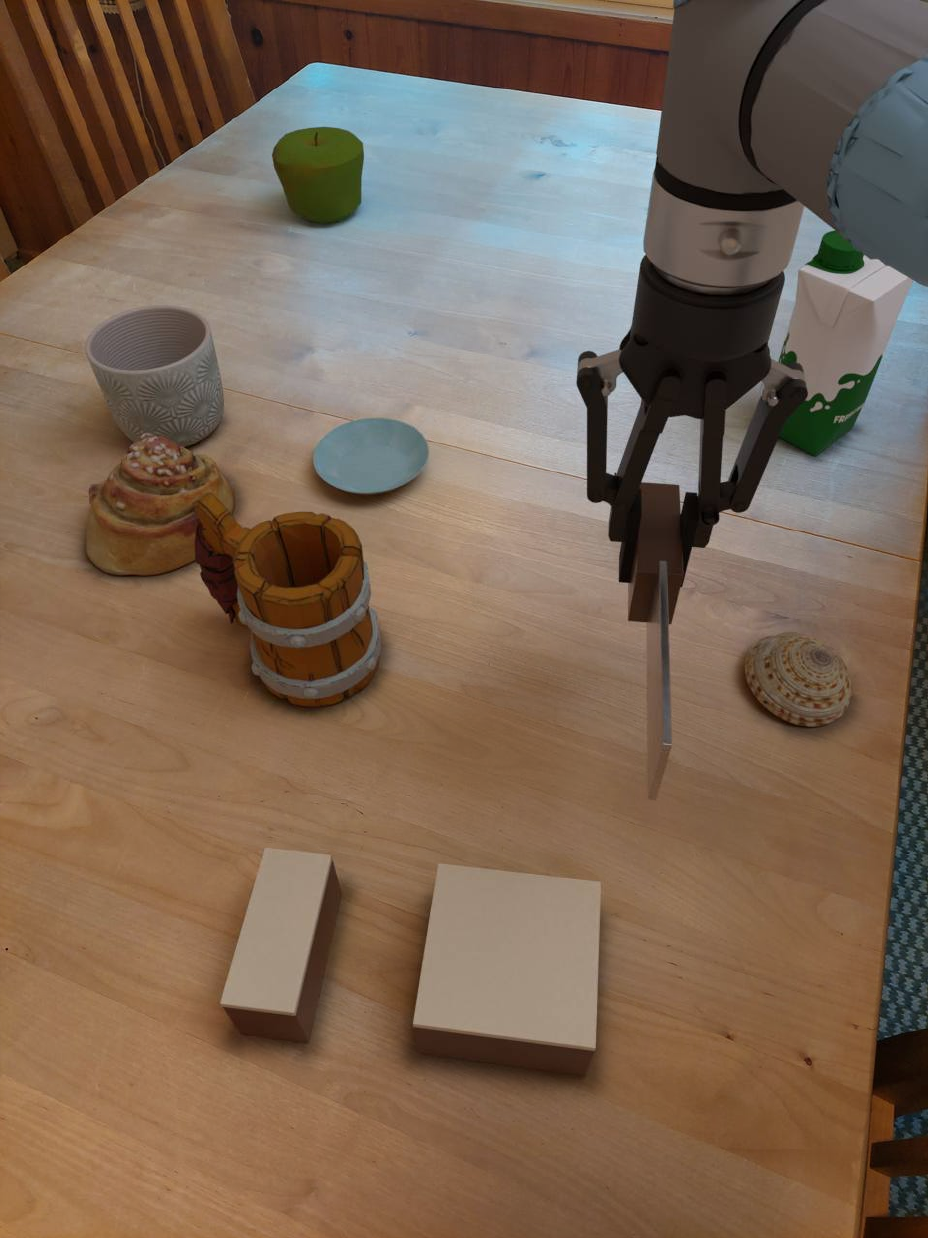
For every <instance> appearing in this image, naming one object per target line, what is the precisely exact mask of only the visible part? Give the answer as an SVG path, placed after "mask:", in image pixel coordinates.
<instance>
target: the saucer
mask: <svg viewBox="0 0 928 1238" xmlns="http://www.w3.org/2000/svg"><path fill="white" fill-rule="evenodd" d="M429 455H430V447H429V444H428V441H427V439H426V437H425V436H424V435H423V433H422V432H420V431H419V430H418V429H417V428H416V427H414V426H412V425H411V424H409V423H407V422H405V421H401V420H397V419H392V418H387V417H365V418H359V419H355V420H351V421H348V422H346V423H342V424H340V425H338V426H336V427H335V428H333V429H332V430H330V431H329V432H327V433H326V434H324V436H323V437H322V438H321V439H320V440H319V441H318V443H317V444H316V446H315V448H314V450H313V456H312V462H313V463H312V464H313V468H314V470H315V471H316V473H317V475H318V477H320V479H322V480H323V481H324V482H326V483H327V484H329V485H330V486H332V487H334V488H336V489H339V490H341V491H344V492H347V493H351V494H357V495H377V494H384V493H387V492H390V491H394V490H396V489H398V488H401V487H403V486H404V485H406V484H408V483H409V482H411V481H412V480H414V479H415V478H416V477H417V476H418V475H419V474H420V473H421V472H422V471H423V470H424V468H425V467H426V466H427V464H428V461H429Z"/></svg>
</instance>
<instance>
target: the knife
mask: <svg viewBox="0 0 928 1238" xmlns="http://www.w3.org/2000/svg"><path fill="white" fill-rule="evenodd" d="M639 489H641V506H642V516H641V522H640V527H639V533H638V538H637V541H636V547H635V552H634V558H633V563H632V569H631V574H630V580H629V583H627V621H628V622H636V623H645V624H646V628H645V629H646V634H645V635H646V731H647V732H646V753H647V755H646V757H647V758H646V759H647V761H646V762H647V772H646V773H647V800H648V801H657V798H658V795H659V792H660V788H661V784H662V781H663V778H664V774H665V770H666V767H667V764H668V760H669V757H670V753H671V750H672V746H673V731H672V729H673V727H672V724H673V723H672V696H671V695H672V694H671V693H672V692H671V691H672V690H671V659H670V658H671V657H670V655H671V654H670V625H672V623H673V619H674V616H675V611H676V607H677V604H678V599H679V595H680V591H681V588H682V587H681V583H682V579H683V554H682V533H681V511H682V508H681V490H680V489H681V487H680V484H673V483H672V484H671V483H659V482H645V481H644V482H643V481H642V482H641V484H640V487H639Z"/></svg>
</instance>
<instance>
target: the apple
mask: <svg viewBox="0 0 928 1238" xmlns="http://www.w3.org/2000/svg"><path fill="white" fill-rule="evenodd" d="M271 157H272V158H271V159H272V163H273V169H274V171H275V174H276V176H277V177H278V178H277V179H278V180H279V182H280V184H281V187H282V190H283V192H284V196H285V199H286V201H287V204H288V207H289V209H290V210H291V211H292V213H293V214H295V215H297V216H299V217H300V218H302V219H304V220H306V221H307V222H310V223H315V224H333V223H338V222H341V221H343V220H345V219H346V218H348V217H349V216H350V215H351V214H353V212H355V211H356V210H357V208H359V207H360V205H361V204H362V182H363V181H362V178H363V177H362V176H363V171H364V170H363V169H364V162H365V152H364V143H363V141H362V140H361V139H360V138H359V137H358V136H357V135H356V134H354V133H352V132H351V131H350V130H347V129H343V128H340V127H334V126H333V127H332V126H316V127H307V128H302V129H296V130H293V131H289V132H288V133H285V134H284V135H283V136H282V137H281V138H279V139H278V141H277V143H276V144H275V146H273V149H272V153H271Z"/></svg>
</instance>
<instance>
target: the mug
mask: <svg viewBox="0 0 928 1238" xmlns="http://www.w3.org/2000/svg"><path fill="white" fill-rule="evenodd" d="M192 504H193V508H194V510H195V512H196V514H197V516H198V518H199V520H200V522H199V524H198V526H197V528H196V533H195V560H194V562H195V563H196V564H197V565H199V566H200V567H199V568H200V574H199V576H200V579H201V581H202V582H203V584H204V585H205V587H206V588H207V590H208V592H209V595H210V596H211V597H212V599H214V600H216V602H217V603H218V605H219V606H220V608H221V609H222V610H223V612H224V613H225V615H228V617H229V623H230V625H232V624H233V623H234V621H235V622H236V624H237V625H240V626H242V627H247V628H248V629H249V630H250V631H251V634H250V641H249V643H250V644H249V645H250V646H249V647H250V655H251V660H252V663H251V665H250V667H251V671H252V673H253V674H254V675H255V676H259V678H260V679H261V682H262V683H263V685H264V686H265V687H266V689H267V690H268V691H269V692H270V693H271V694H273V695H274V696H276V697H277V698H279V699H282V700H285V699H287V701H288V702H290V704H291V705H294V706H298V707H304V708H305V707H306V708H321V707H328V706H333V705H336V704H339V703H341V702H343V701H344V697H347V698H351V697H353V696H354V694H355V693H358V692H360V691H363V689H364V688H365V687H366V686H367V685H368V684H369V683H370V681H371V680H372V678H373V676H374V674H376V673H375V672H376V671H377V669H378V665H379V662H380V657H381V656H380V654H381V650H382V636H381V631H380V626H379V622H378V619H379V616H378V613H377V611H376V610H375V609H373V607H371V606H370V601H371V596H372V590H371V581H370V574H369V573H370V572H369V566H368V563H367V562H366V560H364V550H363V545H362V542H361V539H360V537H359V535H358V533H357V532H356V530H355V529H354V528H353V527H352V526H351V525H349V523H347V522H346V521H345V520H342V519H340V518H334V517H332V516H331V515H329V514H325V513H322V512H321V513H315V512H313V511H294V512H287V513H282V514H279V515H276V516H274V517H273V518H272V519H271V520H270V519H269V520H265V521H262V522H259V523H258V524H256V525H255V526H253V527H251V528H249V527H246V526H245V527H243V526H241V524H239V523H238V522H237V520H236V518H235V517H234V516H233V513H232V514H231V513H230V512H229V510H228V509H227V508H226V507H225V506H224V505H223V503H222V502H221V501H220V500H219V499H218V498H217V497H216V496H215V495H213V494H212V493H210V492H207V493H204V494H202V495H201V496H200V497H199V498H197V499H196V500H195V501H194V502H193V503H192Z"/></svg>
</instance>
